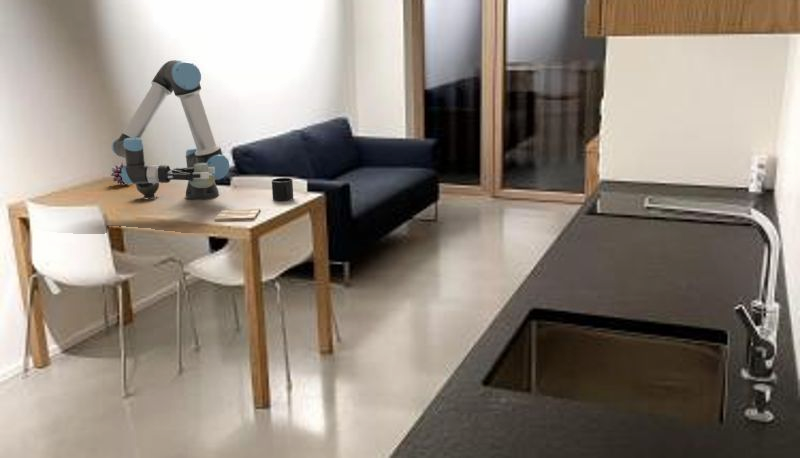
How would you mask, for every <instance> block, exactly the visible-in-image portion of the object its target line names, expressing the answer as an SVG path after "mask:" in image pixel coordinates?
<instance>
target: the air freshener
mask: <svg viewBox="0 0 800 458" xmlns="http://www.w3.org/2000/svg"><path fill="white" fill-rule="evenodd" d="M194 172H209V171H208V164H207V163H196V164H194ZM214 182H215V183H216V180H215V177H214V176H213V175H212V174H211V173H209V179H193V181H190V180H189V183H190V184H191V185H192V186H193V187H196V188H208V187H210V186H211V185H213V184H214Z"/></svg>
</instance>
